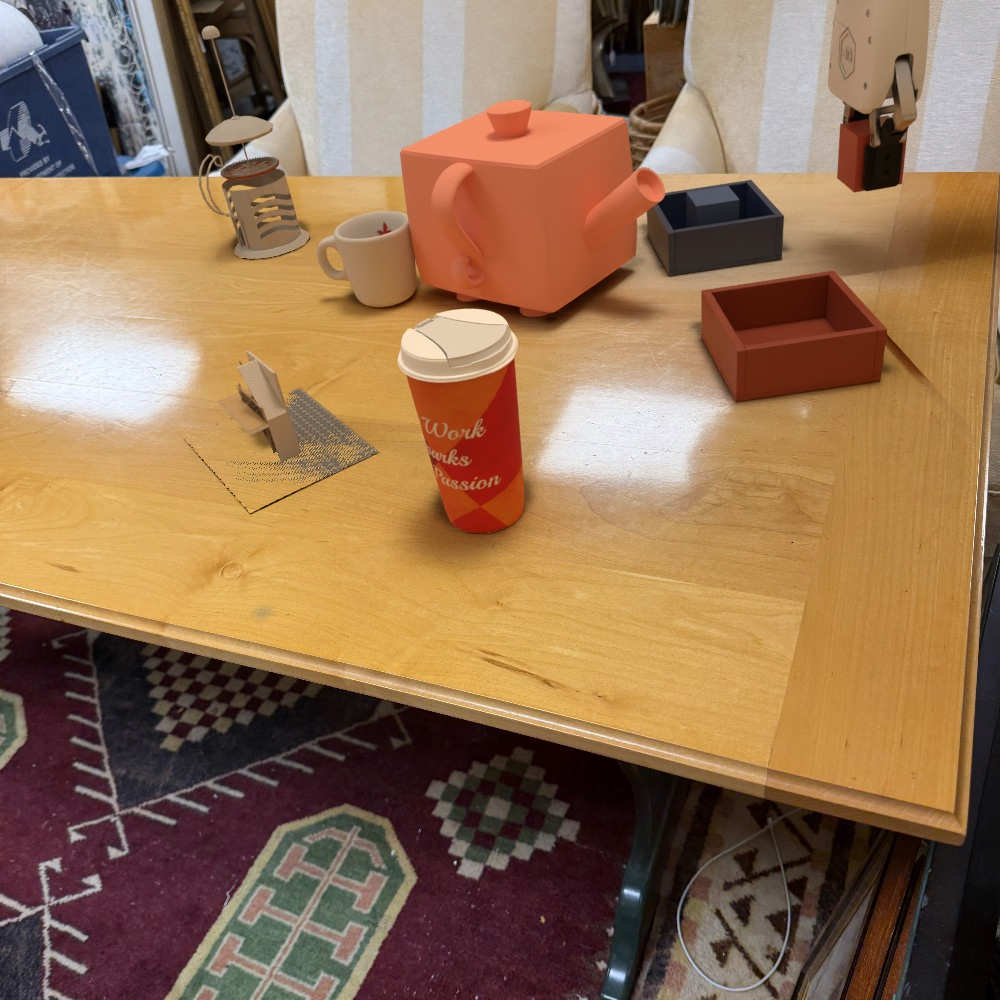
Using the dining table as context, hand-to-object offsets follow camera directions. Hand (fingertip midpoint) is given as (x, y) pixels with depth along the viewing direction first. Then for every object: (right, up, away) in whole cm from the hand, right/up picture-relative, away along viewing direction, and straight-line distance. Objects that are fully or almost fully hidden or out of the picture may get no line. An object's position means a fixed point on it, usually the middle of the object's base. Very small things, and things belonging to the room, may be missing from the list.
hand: (869, 177), depth 84 cm
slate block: (-12, -3, +11) cm, 17 cm away
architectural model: (-53, -26, -9) cm, 59 cm away
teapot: (-28, -9, +8) cm, 31 cm away
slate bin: (-12, -3, +12) cm, 17 cm away
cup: (-48, -9, +13) cm, 50 cm away
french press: (-64, +2, +30) cm, 70 cm away
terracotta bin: (-10, -18, -8) cm, 23 cm away
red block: (0, 0, 0) cm, 0 cm away
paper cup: (-35, -31, -20) cm, 51 cm away
